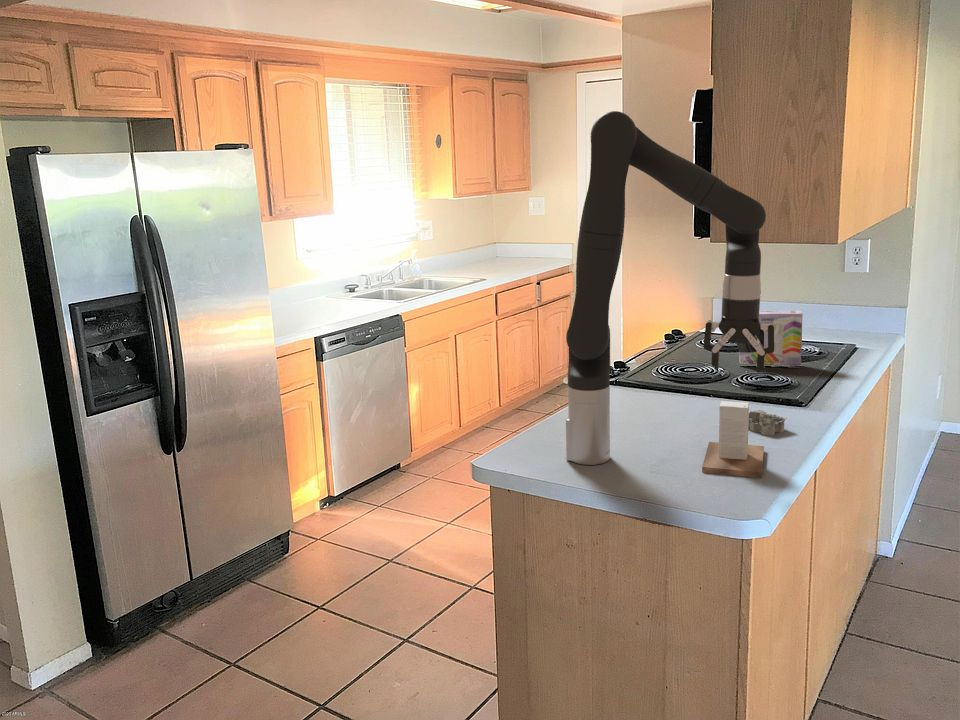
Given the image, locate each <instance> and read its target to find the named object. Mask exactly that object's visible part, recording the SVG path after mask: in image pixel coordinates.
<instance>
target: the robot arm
mask: <svg viewBox="0 0 960 720" xmlns="http://www.w3.org/2000/svg"><path fill="white" fill-rule="evenodd" d="M630 166H631V167H633V168H636V169H638V170H639V171H641V172H643V174H646V175H648V176H649V177H650V178H652V179H654V180H655V181H656V182H658V183H659V184H661V185H662V186H664V187H665V188H667V189H668V190H670V191H671V192H672V193H674V194H675V195H677V196H678V197H679V198H681V199H683V200H685V201H686V202H688V203H689V204H691V205H693V206H694V207H696V208H698V209H699V210H701V211H703V212H706V213H708V214H710V215H711V216H713V217H715V219H717V220H718V221H721V223H723V224H725V227H724V228H725V243H726V251H725V261H724V263H725V264H724V265H725V266H724V276H723V282H722V299H721V319H720V321H719V322H718V321H712V320H710V319H708V320H707V321H706V323H705V327H704V328H705V329H704V337H703V338H704V339H703V349H704V350H707V351H710V352H711V367H712V368H714V370H717V371H718V370H719V367H720V364H719V363H720V350H721V348H722V347H723V346H725V344H726V343H727V342H729V343H730V344H737V343H742V344H746V343H749V342H750V343H751V344H752V346H753V347H754V348H755V349H756V351H757V352H758V355H757V367H756V373H761V371H763V370H764V369H765V367H764V356H765V355H766V354H768V353H773V352H774V324H773V323H769V324H760V322H759V310H760V307H761V306H760V304H761V293H762V291H761V288H762V287H761V285H762V283H761V267H762V265H761V264H762V261H761V260H762V252H761V248H760V245H759V242H760V230H761V228H763V227H764V224H765V222H766V218H767V216H766V215H767V214H766V210H765V207H764V206H763V205H762V203H760V202H759V201H758V200H756V199H754V198H753V197H751V196H748V195H747V194H745V193H743V192H741V191H739V190H738V189H736V188H734V187H732V186H730V185H728V183H726V182H724V181H723V180H722V179H721V178H719V177H717V176H716V175H714V174H712V173H711V172H709V171H708V170H707V169H704V168H703V167H701V166H699V165H698V164H696V163H694V162H692V161H690V160H688V159H687V158H686V159H685V157H682V156H680V155H679V154H676V153H674V152H673V151H670V150H668V149H667V148H665V147H664V146H662V145H660V144H658V143H657V141H656V142H655V141H654V140H653V139H651V138H650V137H649V136H648V135H646V134H645V133H644V132H643V131H642V130H640V128H639V127H637V126H636V124H635V122H634V120H633V119H632V118H631V117H630V115H627V114H626V113H624V112H622V111H618V110H613V111H608V112H605V113H603V114H602V115H600V116H599V117H598V118H596V120H595V122H594V123H593V124H592V128H591V131H590V171H589V182H588V187H587V191H586V195H585V199H584V203H583V208H582V213H581V219H580V223H579V230H578V237H577V238H578V239H577V249H576V261H575V262H576V263H575V264H576V266H575V294H574V295H575V297H574V302H573V307H572V312H571V316H570V320H569V324H568V328H567V329H566V336H565V338H566V340H565V341H566V344H567V348H568V365H567V366H568V367H567V368H568V369H567V399H568V401H567V405H568V407H567V409H568V416H567V419H565V441H566V442H565V444H566V445H565V446H566V447H565V450H566V451H565V452H566V458H565V459H566V461H571V462H573V463H575V464H579V465H588V466H589V465H590V466H592V465H593V466H595V465H600V464H605V463H607V462H608V461H609V460H610V459H611V458H610V457H611V435H610V434H611V414H610V413H611V410H610V409H611V408H610V407H611V405H610V404H611V403H610V402H611V400H610V399H611V397H610V395H611V393H610V391H611V389H610V388H611V386H610V385H611V384H610V383H611V382H610V381H611V380H610V379H611V328H610V326H609V318H610V317H609V316H610V315H609V314H610V303H611V302H610V300H611V295H612V292H613V291H612V290H613V287H614V283H615V280H616V276H617V272H618V269H619V263H620V258H621V253H622V247H623V239H624V232H625V218H626V184H627V183H626V182H627V177H628V173H629V172H628V171H629V167H630ZM716 329H719V331H720V332H721V333H722V336H720V338H719V339H718V340H717V341H716V343H715V344H713V343H711V339H712V333H714V332H715V331H716ZM760 329H762V330H763V331H764V334H766V335H768V346H767V347H763V346H762V344H761V343H760V341H759V340H758V338H757V337H756V334H757V333H758V332H759V331H760Z"/></svg>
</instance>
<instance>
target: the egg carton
mask: <svg viewBox="0 0 960 720" xmlns="http://www.w3.org/2000/svg"><path fill="white" fill-rule="evenodd" d="M787 419H788V417H783V416H781V417H780V416H777V415H776V414H772V413H767V412H766V411H764V410H762V409H758V410H754V411H751V410H749V424H748V429H749V430H751V432H759V433H761V435H764V436H775V435H776V433H784V432H785V421H786V420H787ZM752 421H754V422H752ZM755 421H758V422H755Z"/></svg>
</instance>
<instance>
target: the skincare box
mask: <svg viewBox="0 0 960 720" xmlns="http://www.w3.org/2000/svg"><path fill="white" fill-rule="evenodd" d="M749 413H750V403H749V402H747V401H725V400H721V401H720V404H719V422H718V423H719V425H718V427H719V429H718V442H719V458H727V459H740V460H747V454H748V445H749V428H748V424H749Z"/></svg>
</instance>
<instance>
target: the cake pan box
mask: <svg viewBox="0 0 960 720" xmlns="http://www.w3.org/2000/svg"><path fill="white" fill-rule="evenodd" d="M759 322H760V324H769V323H773V324H774V352H773V353H768V354H766V355H765V356H764V365H790V366H798V365H799V366H800V365H801V366H802V345H803V312H802V310H779V309H778V310H777V309H762V310H760V309H759ZM756 337H757V338H758V340H759V341H760V343H761V344H762V346H763V347H767V346H768V335H766V334H764V331H763V330H762V329H760V331H759V332H758V333H757V334H756ZM736 346H737V349H738V351H739V356H738V357H739V358H738V359H739V361H738V363H740V364H757V355H758V352H757V351H756V349H755V348H754V347H753V346H752V344H751V343H750V342H749V343H746V344H742V343H736Z"/></svg>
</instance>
